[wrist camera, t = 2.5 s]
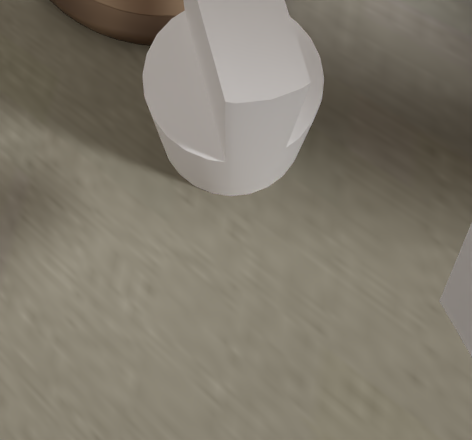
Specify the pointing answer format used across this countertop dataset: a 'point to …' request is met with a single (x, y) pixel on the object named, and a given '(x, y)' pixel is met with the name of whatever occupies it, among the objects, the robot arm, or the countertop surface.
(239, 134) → the cylinder with rectangular tab
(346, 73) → the countertop surface
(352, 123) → the countertop surface
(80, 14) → the board
